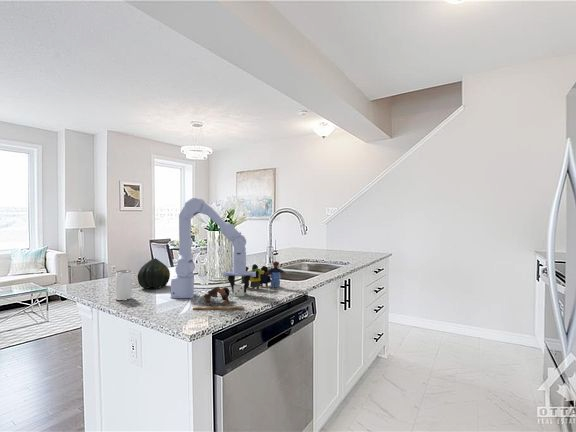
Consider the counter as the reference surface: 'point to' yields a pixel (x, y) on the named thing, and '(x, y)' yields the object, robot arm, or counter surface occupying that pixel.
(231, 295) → the felt mat
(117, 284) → the can
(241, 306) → the counting strip
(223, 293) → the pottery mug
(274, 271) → the doll family
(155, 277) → the squash
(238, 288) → the die
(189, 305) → the counter surface
